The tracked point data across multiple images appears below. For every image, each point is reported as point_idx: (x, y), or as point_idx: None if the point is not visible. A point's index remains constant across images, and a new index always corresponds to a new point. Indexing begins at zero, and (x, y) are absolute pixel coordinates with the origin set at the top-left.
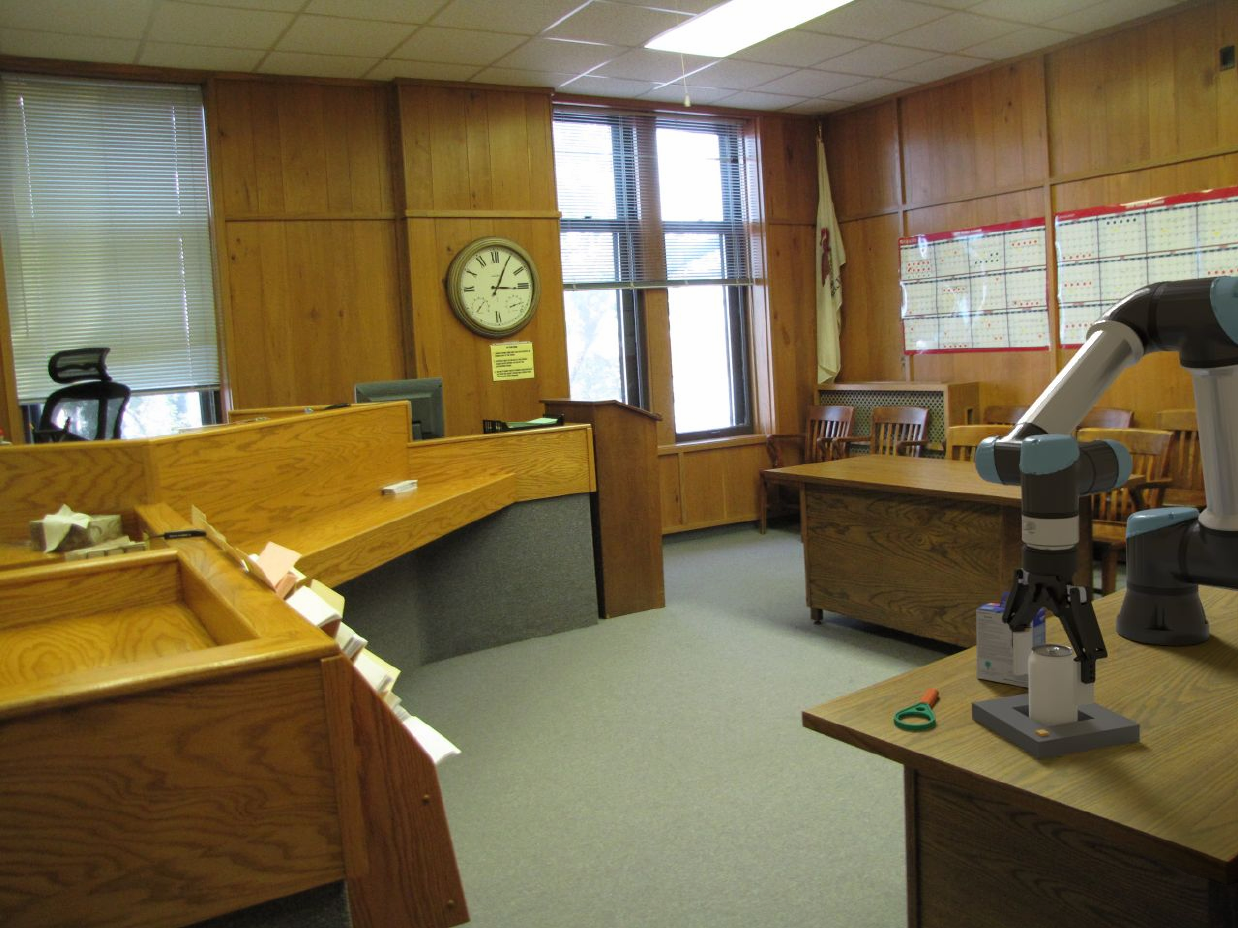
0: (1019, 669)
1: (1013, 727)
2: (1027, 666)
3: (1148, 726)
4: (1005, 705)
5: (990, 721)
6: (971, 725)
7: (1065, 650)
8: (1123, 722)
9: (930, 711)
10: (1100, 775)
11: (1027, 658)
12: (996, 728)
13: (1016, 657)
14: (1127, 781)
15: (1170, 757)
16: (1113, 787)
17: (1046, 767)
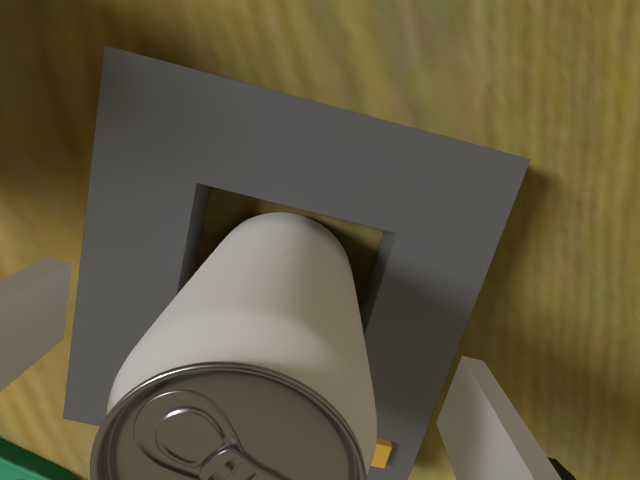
0: (49, 338)
1: None
2: (46, 300)
3: (453, 9)
4: None
5: None
6: None
7: (260, 392)
8: (482, 188)
9: (14, 466)
10: (547, 415)
11: (18, 320)
12: None
13: (2, 387)
14: (611, 395)
15: (625, 186)
16: (603, 442)
17: (434, 469)
